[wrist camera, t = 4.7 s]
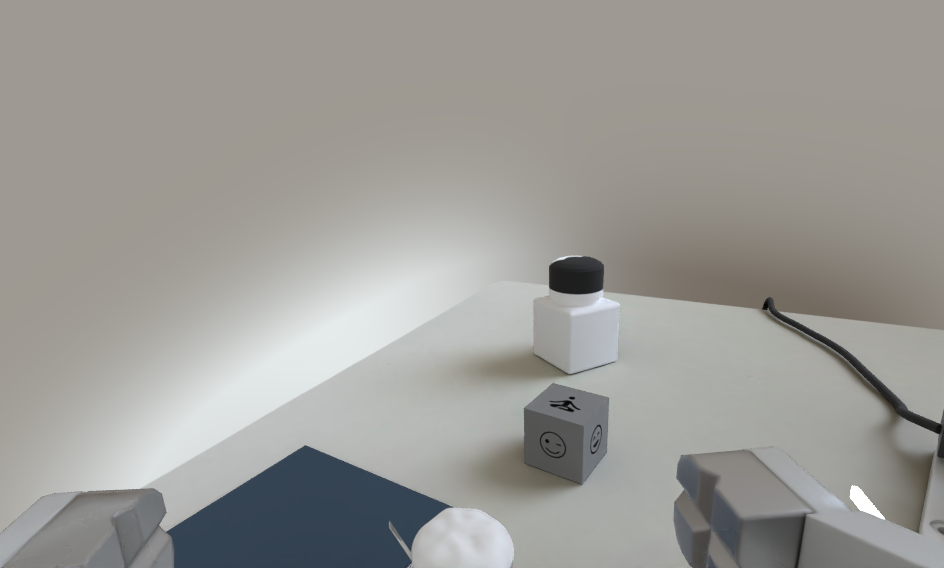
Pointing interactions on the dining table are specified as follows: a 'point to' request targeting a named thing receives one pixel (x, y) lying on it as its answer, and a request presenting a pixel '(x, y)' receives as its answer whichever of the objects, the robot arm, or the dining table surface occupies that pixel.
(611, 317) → the medicine bottle
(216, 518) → the mat
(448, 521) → the milkshake
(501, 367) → the dining table surface
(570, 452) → the dice cube
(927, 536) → the robot arm
